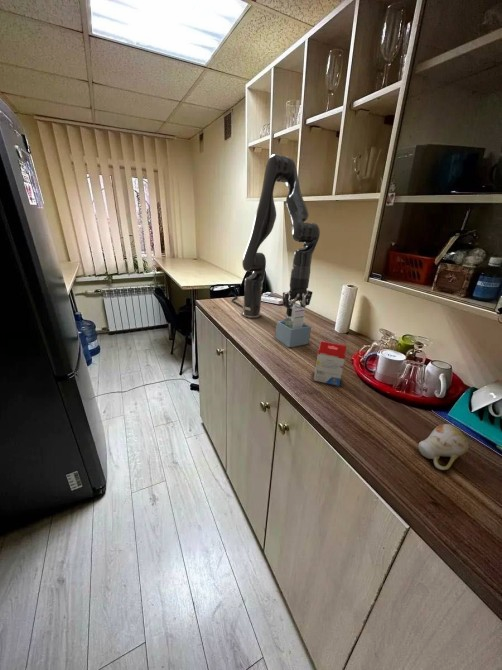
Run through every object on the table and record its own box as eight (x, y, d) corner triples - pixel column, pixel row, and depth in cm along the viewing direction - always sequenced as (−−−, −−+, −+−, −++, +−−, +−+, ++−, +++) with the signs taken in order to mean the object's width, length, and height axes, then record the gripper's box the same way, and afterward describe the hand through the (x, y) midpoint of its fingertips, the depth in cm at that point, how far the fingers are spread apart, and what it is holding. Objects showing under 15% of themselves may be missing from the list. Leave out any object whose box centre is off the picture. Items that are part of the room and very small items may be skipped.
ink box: (339, 379, 94) (348, 340, 88) (339, 386, 89) (348, 346, 84) (314, 373, 96) (321, 335, 90) (312, 380, 92) (319, 341, 86)
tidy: (275, 337, 123) (277, 321, 120) (294, 334, 128) (296, 318, 125) (288, 347, 114) (291, 330, 111) (308, 343, 119) (311, 326, 116)
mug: (405, 447, 66) (425, 411, 66) (432, 459, 69) (451, 425, 69) (431, 466, 59) (453, 426, 59) (461, 479, 62) (482, 441, 61)
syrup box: (301, 339, 120) (306, 307, 114) (290, 341, 117) (294, 309, 111) (293, 334, 124) (297, 304, 119) (282, 336, 121) (286, 305, 116)
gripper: (308, 273, 116) (302, 311, 123) (280, 274, 109) (276, 314, 116) (320, 277, 110) (313, 316, 117) (291, 278, 103) (286, 320, 110)
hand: (294, 315), depth 116 cm, fingers closed on syrup box, 5 cm apart
